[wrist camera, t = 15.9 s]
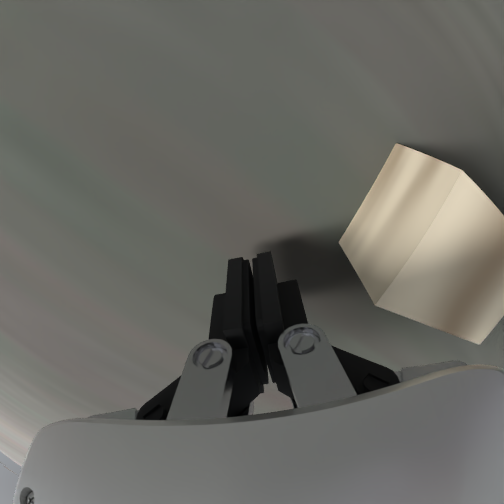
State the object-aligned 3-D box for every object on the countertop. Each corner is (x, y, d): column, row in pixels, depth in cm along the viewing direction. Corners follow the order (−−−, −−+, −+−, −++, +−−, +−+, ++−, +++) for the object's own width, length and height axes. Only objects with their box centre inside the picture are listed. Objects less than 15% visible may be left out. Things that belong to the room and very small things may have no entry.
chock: (337, 240, 12) (374, 305, 9) (394, 142, 10) (462, 170, 6) (440, 292, 14) (479, 344, 10) (487, 222, 12) (538, 263, 8)
